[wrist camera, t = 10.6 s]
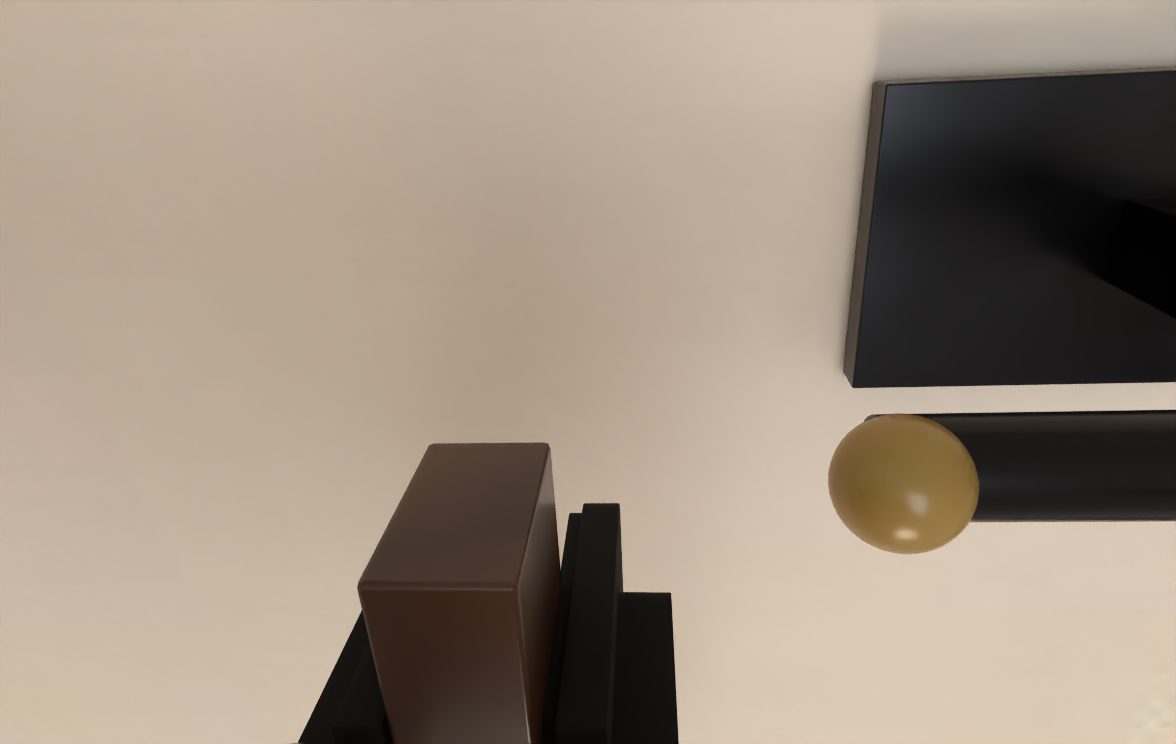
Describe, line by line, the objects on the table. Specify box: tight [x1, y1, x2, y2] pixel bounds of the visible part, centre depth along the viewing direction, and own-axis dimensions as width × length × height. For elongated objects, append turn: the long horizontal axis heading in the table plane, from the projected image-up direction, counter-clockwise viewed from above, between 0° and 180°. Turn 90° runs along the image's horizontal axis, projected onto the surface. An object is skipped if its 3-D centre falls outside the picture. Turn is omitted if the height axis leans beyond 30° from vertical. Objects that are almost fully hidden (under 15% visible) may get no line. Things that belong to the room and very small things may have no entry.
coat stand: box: [828, 67, 1176, 554], centre depth 15 cm, size 15×9×16 cm, turn 93°
